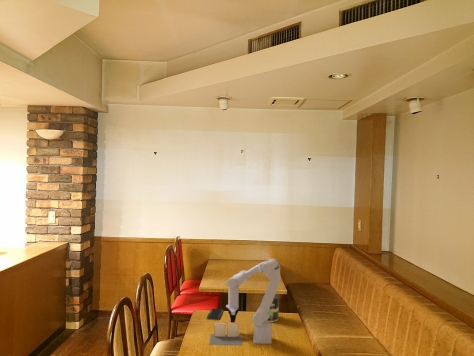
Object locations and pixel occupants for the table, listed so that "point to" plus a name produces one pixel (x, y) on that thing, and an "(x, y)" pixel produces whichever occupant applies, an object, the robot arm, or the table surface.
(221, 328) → the tile
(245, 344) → the table surface
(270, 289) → the robot arm
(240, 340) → the mat
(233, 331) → the tile
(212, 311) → the phone
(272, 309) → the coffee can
